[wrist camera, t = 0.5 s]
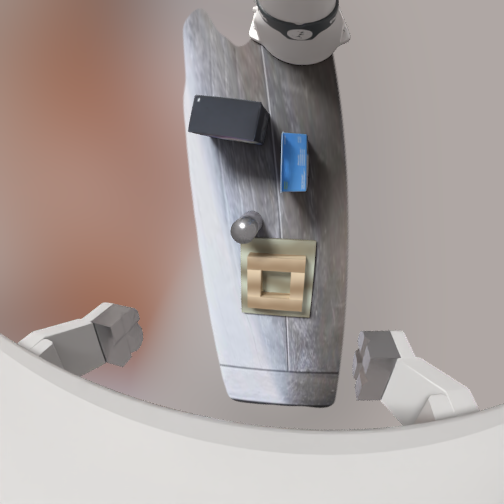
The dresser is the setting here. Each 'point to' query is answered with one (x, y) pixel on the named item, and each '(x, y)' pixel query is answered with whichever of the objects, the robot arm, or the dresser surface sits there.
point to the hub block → (277, 276)
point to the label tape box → (294, 162)
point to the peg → (246, 227)
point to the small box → (229, 119)
